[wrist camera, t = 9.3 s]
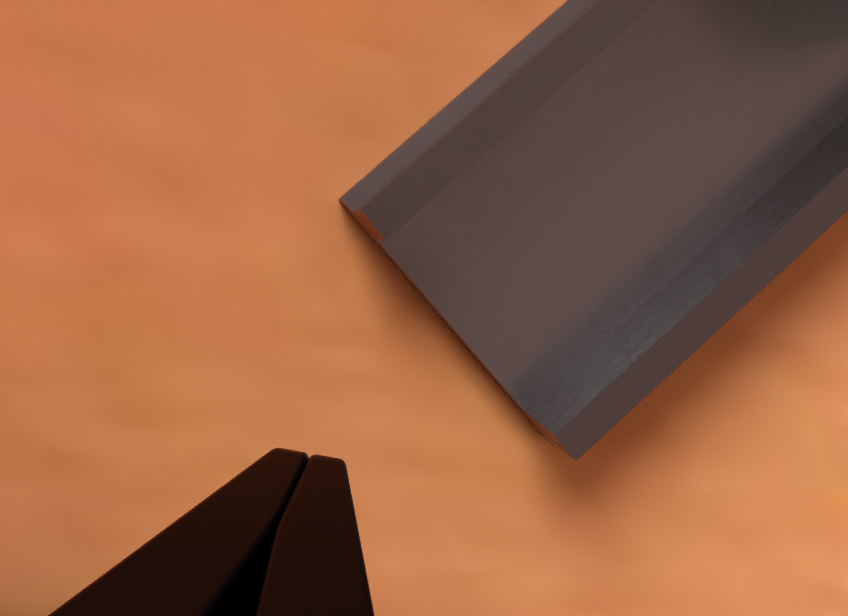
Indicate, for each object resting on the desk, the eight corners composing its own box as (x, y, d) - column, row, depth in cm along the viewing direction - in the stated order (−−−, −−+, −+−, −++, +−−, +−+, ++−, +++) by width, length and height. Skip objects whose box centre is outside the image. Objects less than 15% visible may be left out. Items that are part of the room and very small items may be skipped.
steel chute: (542, 436, 23) (586, 473, 19) (338, 199, 21) (346, 194, 17) (1053, -32, 24) (1179, -75, 21) (909, -297, 22) (1022, -393, 18)
